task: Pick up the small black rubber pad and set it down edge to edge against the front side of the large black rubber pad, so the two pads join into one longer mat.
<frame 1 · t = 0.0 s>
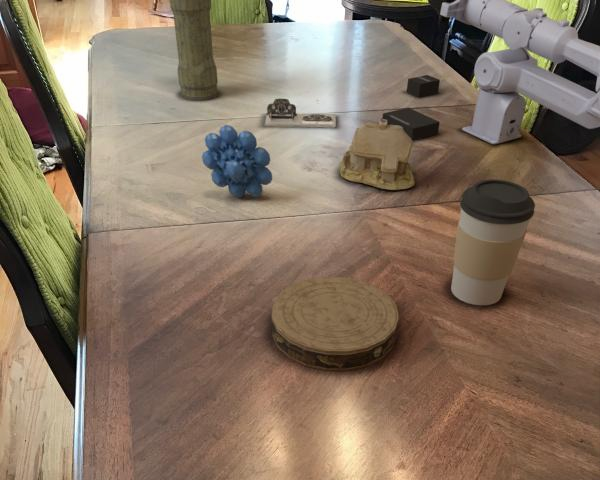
ceramic model: (377, 177, 112), on the table
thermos: (200, 95, 145), on the table
coffee cup: (475, 292, 86), on the table
base pad: (409, 129, 129), on the table
wood slice: (333, 331, 79), on the table
connector pad: (422, 92, 147), on the table
blue knobbed flower: (238, 200, 105), on the table
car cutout: (300, 122, 132), on the table
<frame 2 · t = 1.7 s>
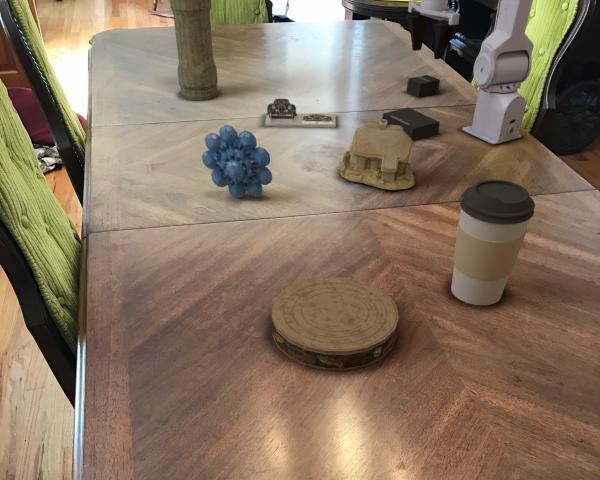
hand: (427, 54, 141), 8 cm above the table, tool pointing down, fingers open, 7 cm apart
nothing on the table moved.
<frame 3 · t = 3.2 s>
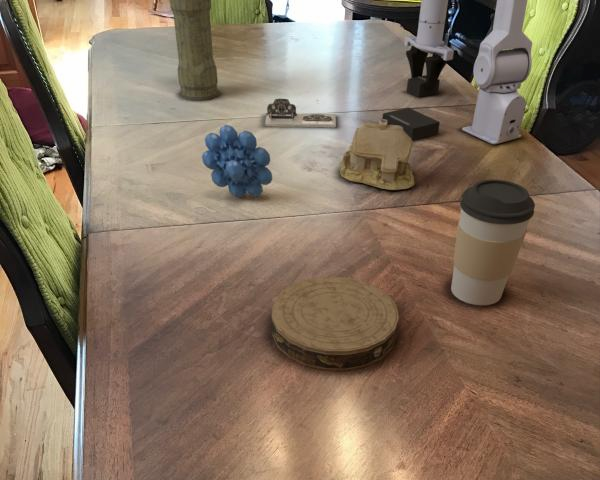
hand: (423, 86, 146), 1 cm above the table, tool pointing down, fingers closed on connector pad, 4 cm apart
connector pad: (422, 92, 147), on the table, touching gripper
everything else where it was.
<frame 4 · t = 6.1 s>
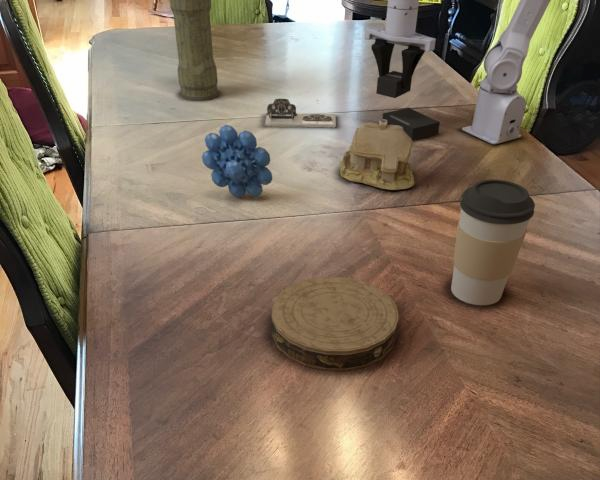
hand: (394, 84, 124), 8 cm above the table, tool pointing down, fingers closed on connector pad, 4 cm apart
connector pad: (393, 92, 125), point 7 cm above the table, touching gripper
everything else where it was.
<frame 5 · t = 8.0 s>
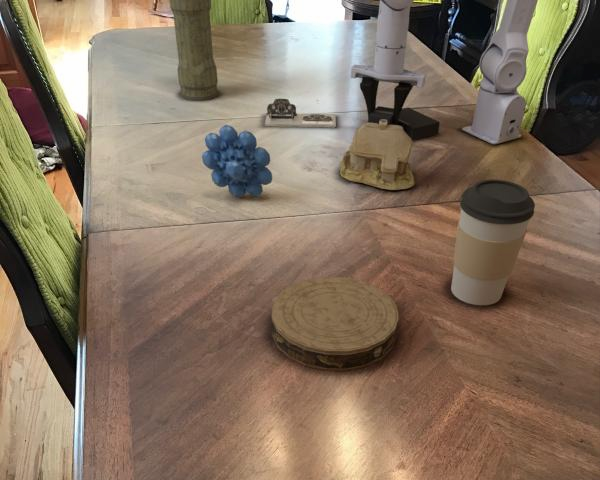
hand: (383, 120, 124), 3 cm above the table, tool pointing down, fingers closed on connector pad, 4 cm apart
connector pad: (382, 127, 125), point 2 cm above the table, touching gripper
everything else where it was.
when the fingers open (1 cm above the table, at t = 9.1 s): connector pad stays where it is, on the table.
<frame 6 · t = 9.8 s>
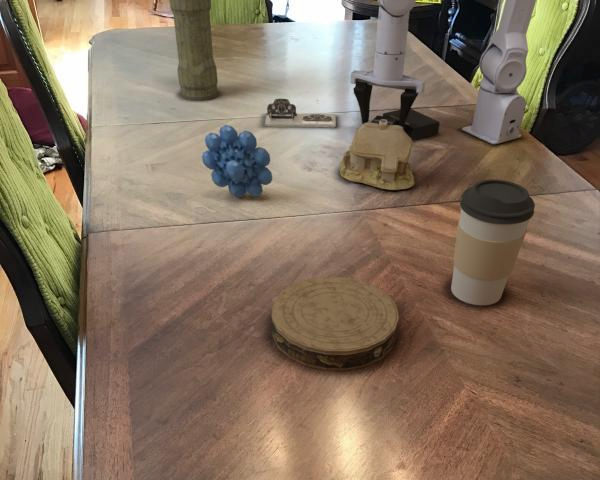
hand: (383, 125, 125), 2 cm above the table, tool pointing down, fingers open, 7 cm apart
connector pad: (381, 136, 126), on the table
everything else where it was.
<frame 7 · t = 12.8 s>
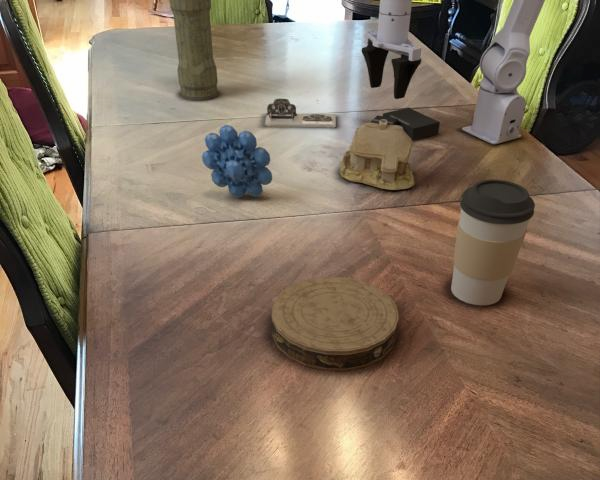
hand: (387, 92, 121), 8 cm above the table, tool pointing down, fingers open, 7 cm apart
nothing on the table moved.
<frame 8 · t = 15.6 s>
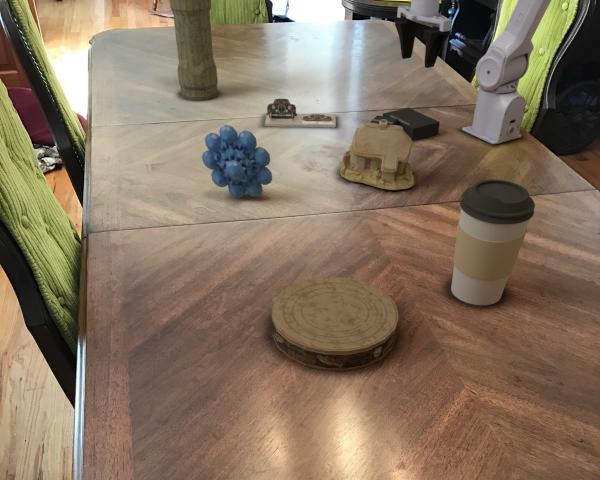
hand: (417, 62, 132), 9 cm above the table, tool pointing down, fingers open, 7 cm apart
nothing on the table moved.
at the end: connector pad 0.0 cm from the target spot on the table beside the base pad, on the table; connector pad tilted 0°; the gripper is holding nothing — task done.
